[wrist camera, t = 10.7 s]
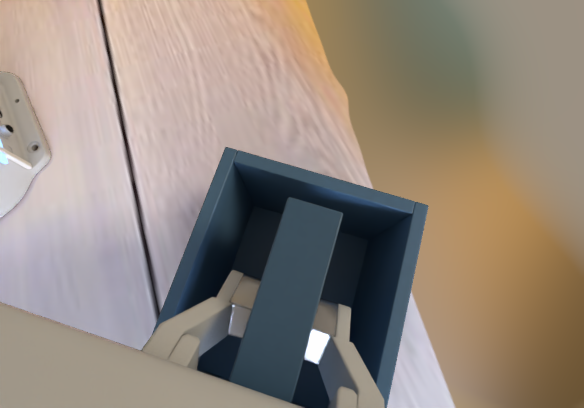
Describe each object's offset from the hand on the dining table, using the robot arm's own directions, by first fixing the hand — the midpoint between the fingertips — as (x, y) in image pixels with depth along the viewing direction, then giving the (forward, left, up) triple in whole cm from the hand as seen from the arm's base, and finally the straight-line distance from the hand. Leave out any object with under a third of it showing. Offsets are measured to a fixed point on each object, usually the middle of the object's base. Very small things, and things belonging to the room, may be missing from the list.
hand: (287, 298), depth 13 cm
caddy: (+1, 0, -12) cm, 12 cm away
